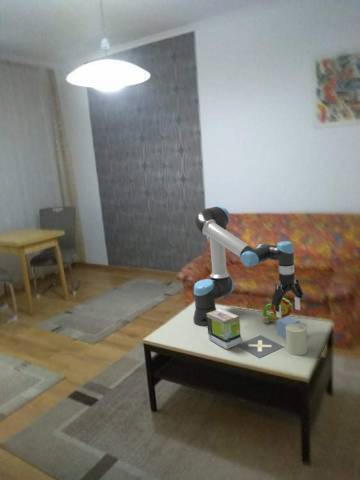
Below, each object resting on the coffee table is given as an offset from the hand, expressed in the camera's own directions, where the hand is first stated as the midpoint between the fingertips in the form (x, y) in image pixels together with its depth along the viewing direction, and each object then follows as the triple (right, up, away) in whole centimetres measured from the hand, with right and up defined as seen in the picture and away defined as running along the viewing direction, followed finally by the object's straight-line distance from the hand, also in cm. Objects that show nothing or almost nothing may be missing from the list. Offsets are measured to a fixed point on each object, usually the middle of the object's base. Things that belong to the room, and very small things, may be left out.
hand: (288, 313), depth 182 cm
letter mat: (-16, -15, -6) cm, 23 cm away
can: (0, -15, -13) cm, 20 cm away
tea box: (-32, -15, +2) cm, 35 cm away
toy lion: (-1, -9, +17) cm, 19 cm away
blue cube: (+1, -12, +3) cm, 12 cm away
